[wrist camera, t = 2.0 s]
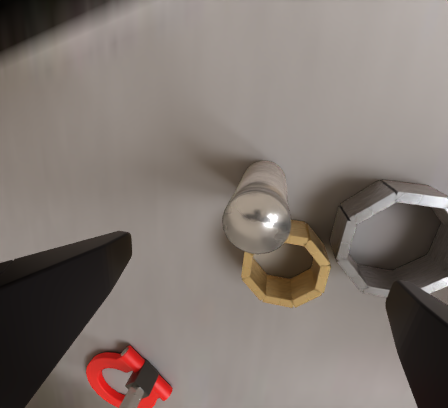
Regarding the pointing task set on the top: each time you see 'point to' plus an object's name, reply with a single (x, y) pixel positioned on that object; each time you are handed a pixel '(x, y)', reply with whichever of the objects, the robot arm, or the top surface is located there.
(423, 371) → the robot arm
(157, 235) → the top surface
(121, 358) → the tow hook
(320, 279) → the small brass socket
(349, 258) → the wide steel socket
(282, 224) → the round-tipped metal peg
